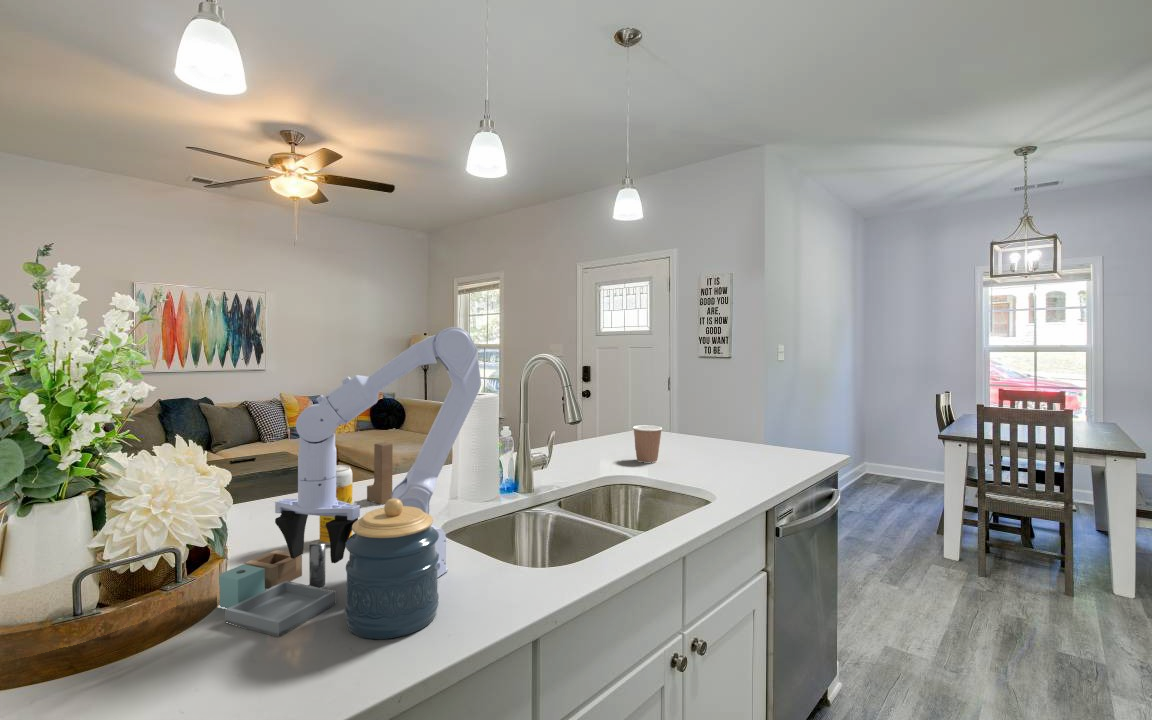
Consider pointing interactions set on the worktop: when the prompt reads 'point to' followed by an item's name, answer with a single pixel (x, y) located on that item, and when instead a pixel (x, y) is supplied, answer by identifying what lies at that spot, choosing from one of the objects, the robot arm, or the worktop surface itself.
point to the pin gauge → (317, 564)
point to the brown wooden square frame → (278, 567)
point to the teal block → (240, 584)
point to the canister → (391, 572)
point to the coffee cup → (647, 442)
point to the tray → (280, 608)
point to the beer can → (338, 497)
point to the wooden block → (381, 474)
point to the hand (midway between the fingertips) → (316, 558)
